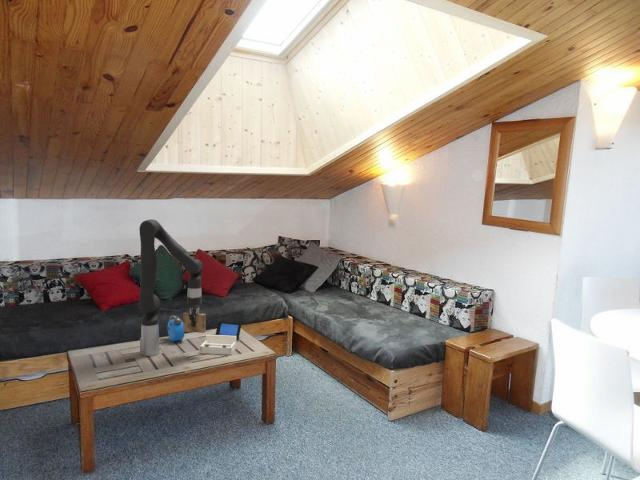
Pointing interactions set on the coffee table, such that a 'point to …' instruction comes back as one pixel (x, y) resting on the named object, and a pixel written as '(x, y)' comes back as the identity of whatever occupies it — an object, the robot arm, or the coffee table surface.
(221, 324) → the handheld game console
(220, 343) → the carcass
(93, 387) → the coffee table surface
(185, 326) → the door panel
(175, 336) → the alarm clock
